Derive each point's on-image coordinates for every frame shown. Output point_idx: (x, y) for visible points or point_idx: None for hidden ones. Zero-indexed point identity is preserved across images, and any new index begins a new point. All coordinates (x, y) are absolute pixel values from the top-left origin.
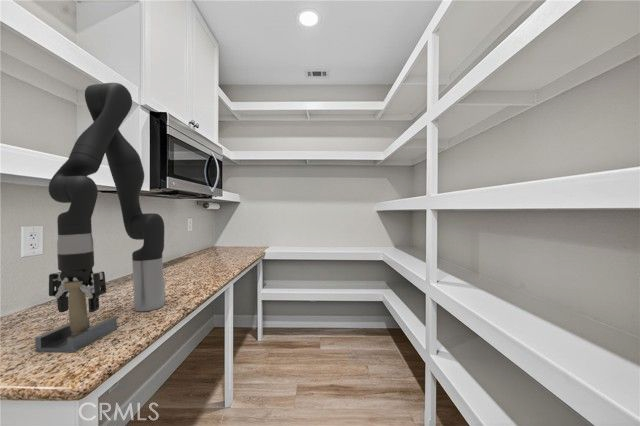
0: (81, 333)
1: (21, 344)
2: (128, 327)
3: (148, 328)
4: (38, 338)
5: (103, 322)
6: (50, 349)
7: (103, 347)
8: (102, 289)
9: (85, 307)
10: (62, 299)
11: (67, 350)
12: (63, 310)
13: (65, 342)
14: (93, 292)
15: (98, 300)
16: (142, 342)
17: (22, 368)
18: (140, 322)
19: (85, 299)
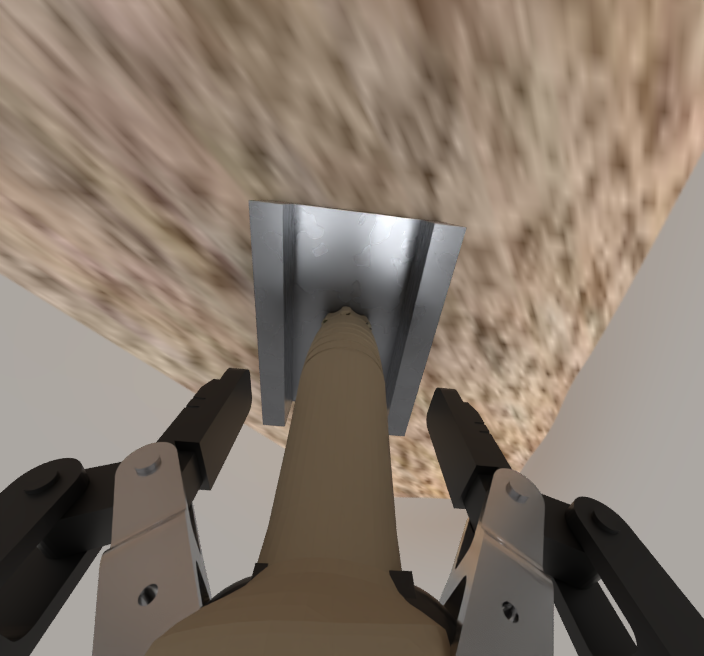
0: (408, 407)
1: (158, 337)
2: (491, 202)
3: (594, 229)
4: (276, 424)
5: (432, 307)
6: None
7: (469, 380)
8: (612, 563)
9: (386, 409)
10: (212, 470)
11: None
12: (247, 399)
13: None
14: (485, 514)
15: (497, 451)
16: (585, 360)
17: None
18: (537, 120)
19: (387, 446)
